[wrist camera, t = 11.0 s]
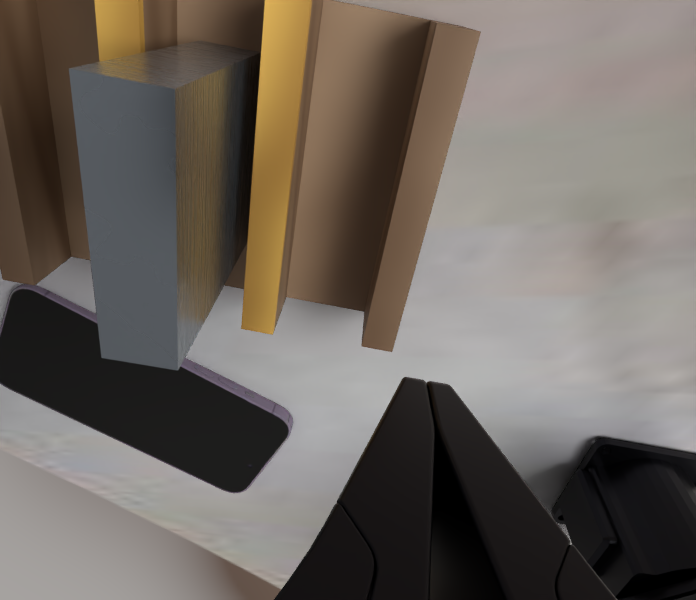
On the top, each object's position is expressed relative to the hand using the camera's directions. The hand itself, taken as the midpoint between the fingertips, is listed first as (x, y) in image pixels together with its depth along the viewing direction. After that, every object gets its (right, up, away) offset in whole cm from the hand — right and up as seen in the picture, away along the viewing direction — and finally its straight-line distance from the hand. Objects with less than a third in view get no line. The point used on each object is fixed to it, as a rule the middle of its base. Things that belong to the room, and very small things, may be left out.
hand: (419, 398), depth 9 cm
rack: (-6, +8, +10) cm, 14 cm away
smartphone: (-12, -3, +18) cm, 22 cm away
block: (-6, +7, +9) cm, 13 cm away
